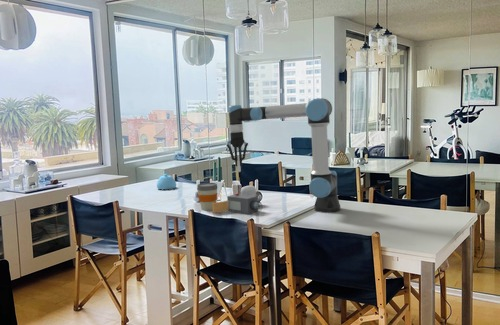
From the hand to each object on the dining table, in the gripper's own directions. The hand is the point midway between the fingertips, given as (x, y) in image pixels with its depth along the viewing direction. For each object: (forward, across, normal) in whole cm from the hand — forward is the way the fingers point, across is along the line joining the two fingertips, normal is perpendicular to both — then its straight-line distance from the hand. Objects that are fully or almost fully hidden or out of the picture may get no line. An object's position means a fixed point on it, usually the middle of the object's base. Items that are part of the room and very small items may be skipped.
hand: (239, 171), depth 278 cm
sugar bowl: (+22, +69, -82) cm, 110 cm away
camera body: (+24, -1, 0) cm, 24 cm away
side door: (+23, +12, +3) cm, 26 cm away
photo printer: (+24, -2, -16) cm, 29 cm away
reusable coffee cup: (+24, +22, -10) cm, 34 cm away
